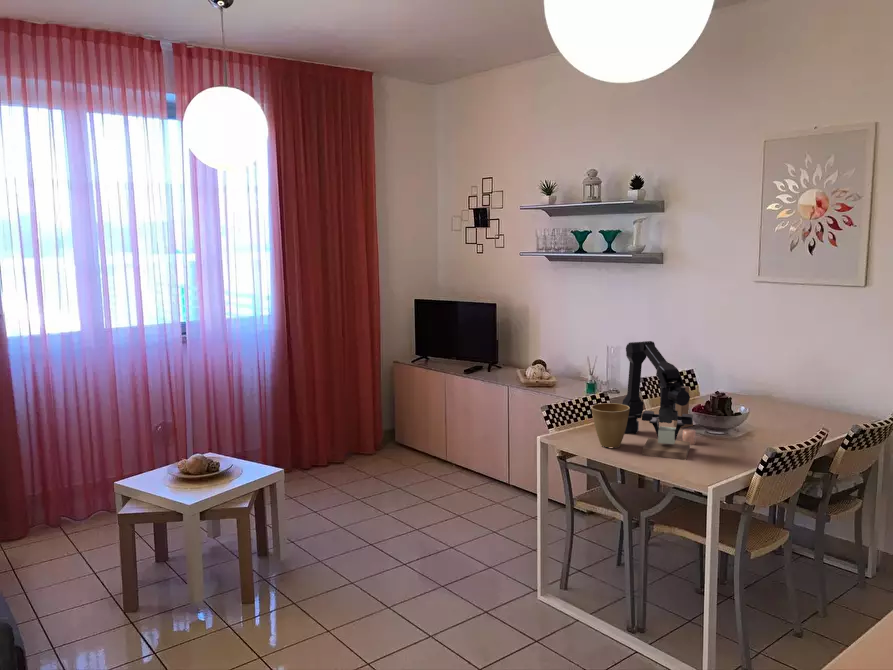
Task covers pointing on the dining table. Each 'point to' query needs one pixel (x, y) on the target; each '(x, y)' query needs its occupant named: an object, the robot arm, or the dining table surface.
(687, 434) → the salmon pink cube
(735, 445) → the dining table surface
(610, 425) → the plant pot
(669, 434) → the sage cube
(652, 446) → the walnut base
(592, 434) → the dining table surface
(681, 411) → the wooden block
